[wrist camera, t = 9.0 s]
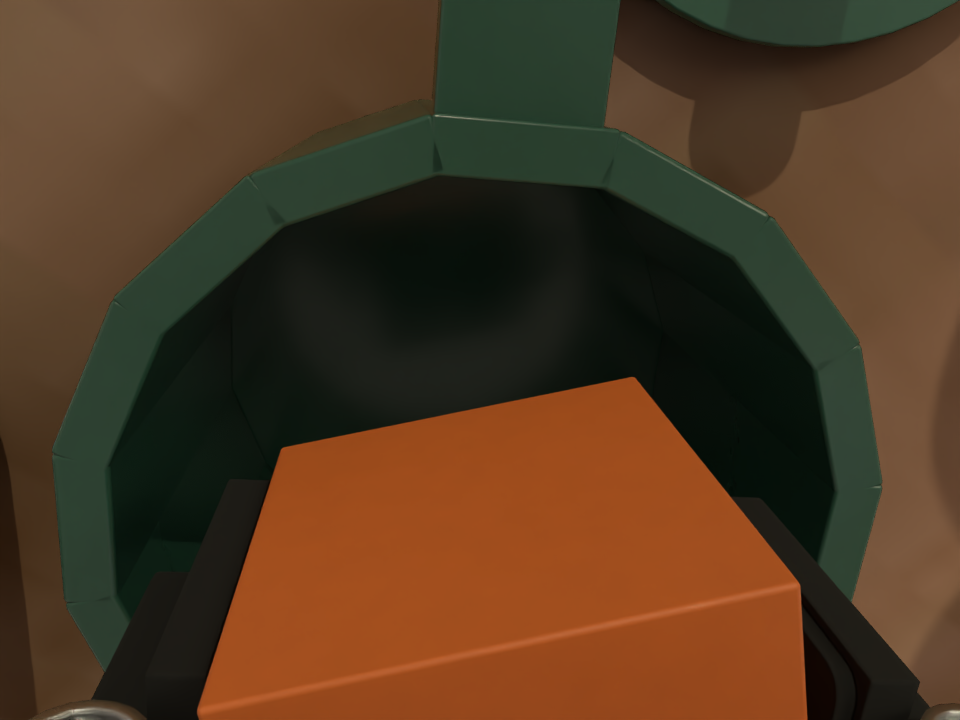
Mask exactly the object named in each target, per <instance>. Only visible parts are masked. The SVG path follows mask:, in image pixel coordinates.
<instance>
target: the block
mask: <svg viewBox="0 0 960 720" xmlns="http://www.w3.org/2000/svg"><path fill="white" fill-rule="evenodd" d="M197 715H198V718H199V720H807V702H806V683H805V664H804V645H803V626H802V607H801V589H800V584H799V582H798V581H797V579H796V578H795V577H794V576H793V574H792V573H791V572H790V571H789V569H788V568H787V567H786V566H785V564H784V563H783V562H782V561H781V559H780V558H779V557H778V556H777V554H776V553H775V552H774V551H773V549H772V548H771V547H770V546H769V544H768V543H767V542H766V541H765V539H764V538H763V537H762V536H761V534H760V533H759V532H758V531H757V529H756V528H755V527H754V526H753V524H752V523H751V522H750V521H749V519H748V518H747V517H746V516H745V514H744V513H743V512H742V511H741V509H740V508H739V507H738V506H737V504H736V503H735V502H734V501H733V499H732V498H731V497H730V496H729V494H728V493H727V492H726V491H725V489H724V488H723V487H722V486H721V484H720V483H719V482H718V481H717V479H716V478H715V477H714V476H713V474H712V473H711V472H710V471H709V469H708V468H707V467H706V466H705V464H704V463H703V462H702V461H701V459H700V458H699V457H698V456H697V454H696V453H695V452H694V451H693V449H692V448H691V447H690V446H689V444H688V443H687V442H686V441H685V439H684V438H683V437H682V436H681V434H680V433H679V432H678V431H677V429H676V428H675V427H674V426H673V424H672V423H671V422H670V421H669V419H668V418H667V417H666V416H665V414H664V413H663V412H662V411H661V409H660V408H659V407H658V406H657V404H656V403H655V402H654V401H653V399H652V398H651V397H650V396H649V394H648V393H647V392H646V391H645V389H644V388H643V387H642V386H641V384H640V383H639V382H638V381H637V379H636V378H635V377H629V378H624V379H619V380H614V381H609V382H605V383H600V384H595V385H590V386H585V387H580V388H575V389H570V390H565V391H560V392H555V393H550V394H545V395H540V396H535V397H530V398H526V399H521V400H516V401H511V402H506V403H501V404H496V405H491V406H486V407H481V408H476V409H471V410H466V411H461V412H456V413H451V414H446V415H442V416H437V417H432V418H427V419H422V420H417V421H412V422H407V423H402V424H397V425H392V426H387V427H382V428H377V429H372V430H367V431H363V432H358V433H353V434H348V435H343V436H338V437H333V438H328V439H323V440H318V441H313V442H308V443H303V444H298V445H293V446H288V447H284V448H282V449H281V451H280V454H279V457H278V460H277V463H276V466H275V469H274V473H273V476H272V479H271V482H270V485H269V488H268V491H267V494H266V497H265V500H264V504H263V507H262V510H261V513H260V516H259V519H258V522H257V525H256V528H255V532H254V535H253V538H252V541H251V544H250V547H249V550H248V553H247V556H246V559H245V563H244V566H243V569H242V572H241V575H240V578H239V581H238V584H237V587H236V590H235V594H234V597H233V600H232V603H231V606H230V609H229V612H228V615H227V618H226V622H225V625H224V628H223V631H222V634H221V637H220V640H219V643H218V646H217V649H216V653H215V656H214V659H213V662H212V665H211V668H210V671H209V674H208V677H207V680H206V684H205V687H204V690H203V693H202V696H201V699H200V702H199V705H198V709H197Z"/></svg>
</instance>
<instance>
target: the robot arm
mask: <svg viewBox="0 0 960 720" xmlns="http://www.w3.org/2000/svg"><path fill="white" fill-rule="evenodd" d="M270 482H271V480H242V479H230V480H229V481H228V483H227V485H226V488H225V490H224V492H223V495H222V497H221V499H220V502H219V504H218V506H217V509H216V511H215V513H214V516H213V518H212V520H211V523H210V525H209V527H208V530H207V532H206V534H205V537H204V539H203V541H202V544H201V546H200V549H199V551H198V553H197V556H196V558H195V560H194V563H193V565H192V567H191V570H190V572H162V571H159V572H157V573H155V575H154V576H153V578H152V579H151V581H150V583H149V585H148V587H147V589H146V591H145V593H144V595H143V597H142V599H141V601H140V603H139V605H138V607H137V609H136V611H135V613H134V615H133V617H132V619H131V621H130V623H129V625H128V627H127V629H126V631H125V633H124V635H123V637H122V639H121V641H120V643H119V645H118V647H117V649H116V651H115V653H114V655H113V657H112V659H111V661H110V663H109V665H108V667H107V669H106V671H105V673H104V675H103V677H102V679H101V681H100V683H99V685H98V687H97V689H96V691H95V693H94V695H93V697H92V699H91V700H86V701H79V702H71V703H68V704H64V705H61V706H58V707H55V708H52V709H49V710H46V711H44V712H42V713H40V714H38V715H37V716H35V717H33V718H31V719H29V720H199V718H198V715H197V709H198V705H199V702H200V699H201V696H202V693H203V690H204V687H205V684H206V680H207V677H208V674H209V671H210V668H211V665H212V662H213V659H214V656H215V653H216V649H217V646H218V643H219V640H220V637H221V634H222V631H223V628H224V625H225V622H226V618H227V615H228V612H229V609H230V606H231V603H232V600H233V597H234V594H235V590H236V587H237V584H238V581H239V578H240V575H241V572H242V569H243V566H244V563H245V559H246V556H247V553H248V550H249V547H250V544H251V541H252V538H253V535H254V532H255V528H256V525H257V522H258V519H259V516H260V513H261V510H262V507H263V504H264V500H265V497H266V494H267V491H268V488H269V485H270ZM731 498H732V499H733V501H734V502H735V503H736V504H737V506H738V507H739V508H740V509H741V511H742V512H743V513H744V514H745V516H746V517H747V518H748V519H749V521H750V522H751V523H752V524H753V526H754V527H755V528H756V529H757V531H758V532H759V533H760V534H761V536H762V537H763V538H764V539H765V541H766V542H767V543H768V544H769V546H770V547H771V548H772V549H773V551H774V552H775V553H776V554H777V556H778V557H779V558H780V559H781V561H782V562H783V563H784V564H785V566H786V567H787V568H788V569H789V571H790V572H791V573H792V574H793V576H794V577H795V578H796V579H797V581H798V582H799V584H800V589H801V607H802V626H803V645H804V664H805V683H806V702H807V720H960V704H956V703H951V704H938V705H936V706H933V707H931V708H930V707H929V706H928V704H927V703H926V702H925V701H924V700H923V699H922V697H921V696H920V695H919V694H918V693H917V690H918V687H919V683H920V681H919V680H918V679H917V678H916V677H915V675H914V674H913V673H912V672H911V671H910V670H909V669H908V667H907V666H906V665H905V664H904V663H903V662H902V660H901V659H900V658H899V657H898V656H897V655H896V654H895V652H894V651H893V650H892V649H891V648H890V647H889V645H888V644H887V643H886V642H885V641H884V640H883V639H882V637H881V636H880V635H879V634H878V633H877V632H876V631H875V629H874V628H873V627H872V626H871V625H870V624H869V622H868V621H867V620H866V619H865V618H864V617H863V616H862V614H861V613H860V612H859V611H858V610H857V609H856V607H855V606H854V605H853V604H852V603H851V602H850V601H849V599H848V598H847V597H846V596H845V595H844V594H843V592H842V591H841V590H840V589H839V588H838V587H837V586H836V584H835V583H834V582H833V581H832V580H831V579H830V577H829V576H828V575H827V574H826V573H825V572H824V571H823V569H822V568H821V567H820V566H819V565H818V564H817V562H816V561H815V560H814V559H813V558H812V557H811V556H810V554H809V553H808V552H807V551H806V550H805V549H804V547H803V546H802V545H801V544H800V543H799V542H798V541H797V539H796V538H795V537H794V536H793V535H792V534H791V532H790V531H789V530H788V529H787V528H786V527H785V526H784V524H783V523H782V522H781V521H780V520H779V519H778V518H777V516H776V515H775V514H774V513H773V512H772V511H771V509H770V508H769V507H768V506H767V505H766V504H765V503H764V501H763V500H761V499H760V498H752V497H731Z"/></svg>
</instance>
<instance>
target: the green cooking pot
mask: <svg viewBox="0 0 960 720" xmlns="http://www.w3.org/2000/svg"><path fill="white" fill-rule="evenodd" d="M620 1H621V0H438V15H437V30H436V45H435V61H434V76H433V91H432V100H422V99H419V100H418V101H417V100H413V101H410V102H407V103H404V104H401V105H398V106H395V107H392V108H389V109H386V110H383V111H380V112H377V113H374V114H370V115H367V116H364V117H362V118H359V119H356V120H353V121H350V122H347V123H344V124H341V125H338V126H335V127H332V128H329V129H326V130H323V131H320V132H318V133H316V134H314V135H312V136H311V137H309V138H307V139H306V140H304V141H302V142H301V143H299V144H297V145H296V146H294V147H293V148H291V149H289V150H288V151H286V152H284V153H283V154H281V155H279V156H278V157H276V158H274V159H273V160H271V161H270V162H268V163H266V164H265V165H263V166H261V167H260V168H258V169H256V170H255V171H253V172H251V173H250V174H248V175H247V176H245V177H244V178H243V179H242V180H241V181H239V182H238V183H237V184H236V185H235V186H234V187H233V188H232V189H231V190H230V191H228V192H227V193H226V194H225V195H224V196H223V197H222V198H221V199H220V200H219V201H218V202H216V203H215V204H214V205H213V206H212V207H211V208H210V209H209V210H208V211H207V212H206V213H204V214H203V215H202V216H201V217H200V218H199V219H198V220H197V221H196V222H195V223H194V224H192V225H191V226H190V227H189V228H188V229H187V230H186V231H185V232H184V233H183V234H182V235H180V236H179V237H178V238H177V239H176V240H175V241H174V242H173V243H172V244H171V245H170V246H168V247H167V248H166V249H165V250H164V251H163V252H162V253H161V254H160V255H159V256H158V257H156V258H155V259H154V260H153V261H152V262H151V263H150V264H149V265H148V266H147V267H146V268H144V269H143V270H142V271H141V272H140V273H139V274H138V275H137V276H136V277H135V278H134V279H132V280H131V281H130V282H129V283H128V284H127V285H126V286H125V287H124V288H123V289H122V290H120V291H119V292H118V293H117V294H116V295H115V297H114V300H113V301H112V302H111V303H110V306H109V308H108V311H107V313H106V316H105V318H104V320H103V323H102V325H101V328H100V330H99V333H98V335H97V338H96V340H95V343H94V345H93V348H92V350H91V353H90V355H89V358H88V360H87V363H86V365H85V368H84V370H83V373H82V375H81V378H80V380H79V383H78V385H77V388H76V390H75V393H74V395H73V398H72V400H71V403H70V405H69V408H68V410H67V413H66V415H65V418H64V420H63V423H62V425H61V428H60V430H59V433H58V435H57V438H56V440H55V443H54V445H53V448H52V453H54V454H53V457H52V462H53V474H54V486H55V497H56V509H57V521H58V532H59V544H60V556H61V567H62V579H63V591H64V600H65V601H66V602H67V604H66V606H67V610H68V611H69V613H70V615H71V617H72V618H73V620H74V622H75V623H76V625H77V627H78V628H79V630H80V632H81V633H82V635H83V637H84V638H85V640H86V642H87V644H88V645H89V647H90V649H91V650H92V652H93V654H94V655H95V657H96V659H97V660H98V662H99V664H100V665H101V667H102V669H103V671H104V672H105V671H106V669H107V667H108V665H109V663H110V661H111V659H112V657H113V655H114V653H115V651H116V649H117V647H118V645H119V643H120V641H121V639H122V637H123V635H124V633H125V631H126V629H127V627H128V625H129V623H130V621H131V619H132V617H133V615H134V613H135V611H136V609H137V607H138V605H139V603H140V601H141V599H142V597H143V595H144V593H145V591H146V589H147V587H148V585H149V583H150V581H151V579H152V578H153V576H154V575H155V573H157V572H159V571H162V572H190V570H191V567H192V565H193V563H194V560H195V558H196V556H197V553H198V551H199V549H200V546H201V544H202V541H203V539H204V537H205V534H206V532H207V530H208V527H209V525H210V523H211V520H212V518H213V516H214V513H215V511H216V509H217V506H218V504H219V502H220V499H221V497H222V495H223V492H224V490H225V488H226V485H227V483H228V481H229V480H230V479H242V480H271V479H272V476H273V473H274V469H275V466H276V463H277V460H278V457H279V454H280V451H281V449H282V448H284V447H288V446H293V445H298V444H303V443H308V442H313V441H318V440H323V439H328V438H333V437H338V436H343V435H348V434H353V433H358V432H363V431H367V430H372V429H377V428H382V427H387V426H392V425H397V424H402V423H407V422H412V421H417V420H422V419H427V418H432V417H437V416H442V415H446V414H451V413H456V412H461V411H466V410H471V409H476V408H481V407H486V406H491V405H496V404H501V403H506V402H511V401H516V400H521V399H526V398H530V397H535V396H540V395H545V394H550V393H555V392H560V391H565V390H570V389H575V388H580V387H585V386H590V385H595V384H600V383H605V382H609V381H614V380H619V379H624V378H629V377H635V378H636V379H637V381H638V382H639V383H640V384H641V386H642V387H643V388H644V389H645V391H646V392H647V393H648V394H649V396H650V397H651V398H652V399H653V401H654V402H655V403H656V404H657V406H658V407H659V408H660V409H661V411H662V412H663V413H664V414H665V416H666V417H667V418H668V419H669V421H670V422H671V423H672V424H673V426H674V427H675V428H676V429H677V431H678V432H679V433H680V434H681V436H682V437H683V438H684V439H685V441H686V442H687V443H688V444H689V446H690V447H691V448H692V449H693V451H694V452H695V453H696V454H697V456H698V457H699V458H700V459H701V461H702V462H703V463H704V464H705V466H706V467H707V468H708V469H709V471H710V472H711V473H712V474H713V476H714V477H715V478H716V479H717V481H718V482H719V483H720V484H721V486H722V487H723V488H724V489H725V491H726V492H727V493H728V494H729V496H730V497H752V498H760V499H761V500H763V501H764V503H765V504H766V505H767V506H768V507H769V508H770V509H771V511H772V512H773V513H774V514H775V515H776V516H777V518H778V519H779V520H780V521H781V522H782V523H783V524H784V526H785V527H786V528H787V529H788V530H789V531H790V532H791V534H792V535H793V536H794V537H795V538H796V539H797V541H798V542H799V543H800V544H801V545H802V546H803V547H804V549H805V550H806V551H807V552H808V553H809V554H810V556H811V557H812V558H813V559H814V560H815V561H816V562H817V564H818V565H819V566H820V567H821V568H822V569H823V571H824V572H825V573H826V574H827V575H828V576H829V577H830V579H831V580H832V581H833V582H834V583H835V584H836V586H837V587H838V588H839V589H840V590H841V591H842V592H843V594H844V595H845V596H846V597H847V598H848V599H849V601H850V602H852V599H853V595H854V591H855V588H856V584H857V580H858V577H859V573H860V569H861V566H862V562H863V558H864V554H865V551H866V547H867V543H868V540H869V536H870V532H871V529H872V525H873V521H874V518H875V514H876V510H877V507H878V503H879V499H880V496H881V492H882V486H881V484H882V476H881V470H880V463H879V457H878V451H877V444H876V438H875V431H874V425H873V419H872V412H871V406H870V400H869V393H868V387H867V381H866V374H865V368H864V361H863V355H862V349H861V346H860V345H859V340H858V338H857V337H856V335H855V334H854V332H853V331H852V329H851V328H850V327H849V325H848V324H847V322H846V321H845V319H844V318H843V316H842V315H841V314H840V312H839V311H838V309H837V308H836V306H835V305H834V304H833V302H832V301H831V299H830V298H829V296H828V295H827V293H826V292H825V291H824V289H823V288H822V286H821V285H820V283H819V282H818V281H817V279H816V278H815V276H814V275H813V273H812V272H811V271H810V269H809V268H808V266H807V265H806V263H805V262H804V260H803V259H802V258H801V256H800V255H799V253H798V252H797V250H796V249H795V248H794V246H793V245H792V243H791V242H790V240H789V239H788V238H787V236H786V235H785V233H784V232H783V230H782V229H781V227H780V226H779V225H778V223H777V222H776V220H775V219H774V218H773V217H771V216H769V215H768V214H767V212H766V211H764V210H762V209H761V208H759V207H757V206H755V205H753V204H752V203H750V202H748V201H746V200H745V199H743V198H741V197H739V196H738V195H736V194H734V193H732V192H730V191H729V190H727V189H725V188H723V187H722V186H720V185H718V184H716V183H714V182H713V181H711V180H709V179H707V178H706V177H704V176H702V175H700V174H699V173H697V172H695V171H693V170H691V169H690V168H688V167H686V166H684V165H683V164H681V163H679V162H677V161H675V160H674V159H672V158H670V157H668V156H667V155H665V154H663V153H661V152H659V151H658V150H656V149H654V148H652V147H651V146H649V145H647V144H645V143H644V142H642V141H640V140H638V139H636V138H635V137H633V136H631V135H629V134H628V133H626V132H622V131H619V130H617V129H614V128H610V127H605V126H604V123H605V116H606V108H607V100H608V93H609V85H610V77H611V70H612V62H613V55H614V47H615V39H616V32H617V24H618V16H619V9H620Z"/></svg>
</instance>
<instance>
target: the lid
mask: <svg viewBox="0 0 960 720" xmlns="http://www.w3.org/2000/svg"><path fill="white" fill-rule="evenodd" d="M656 1H657V2H658V3H660V4H661V5H662V6H664V7H665V8H667V9H668V10H669V11H671V12H673V13H675V14H677V15H679V16H681V17H683V18H684V19H686V20H688V21H690V22H692V23H694V24H696V25H698V26H700V27H702V28H704V29H707V30H710V31H713V32H716V33H719V34H722V35H725V36H727V37H730V38H733V39H736V40H740V41H746V42H751V43H757V44H763V45H768V46H774V47H807V48H811V47H821V46H830V45H839V44H847V43H855V42H859V41H863V40H867V39H871V38H874V37H878V36H882V35H886V34H890V33H893V32H895V31H898V30H900V29H903V28H905V27H908V26H910V25H913V24H915V23H918V22H920V21H922V20H925V19H927V18H929V17H931V16H933V15H935V14H936V13H938V12H940V11H942V10H944V9H945V8H947V7H949V6H951V5H952V4H954V3H956V2H958V1H960V0H656Z"/></svg>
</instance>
